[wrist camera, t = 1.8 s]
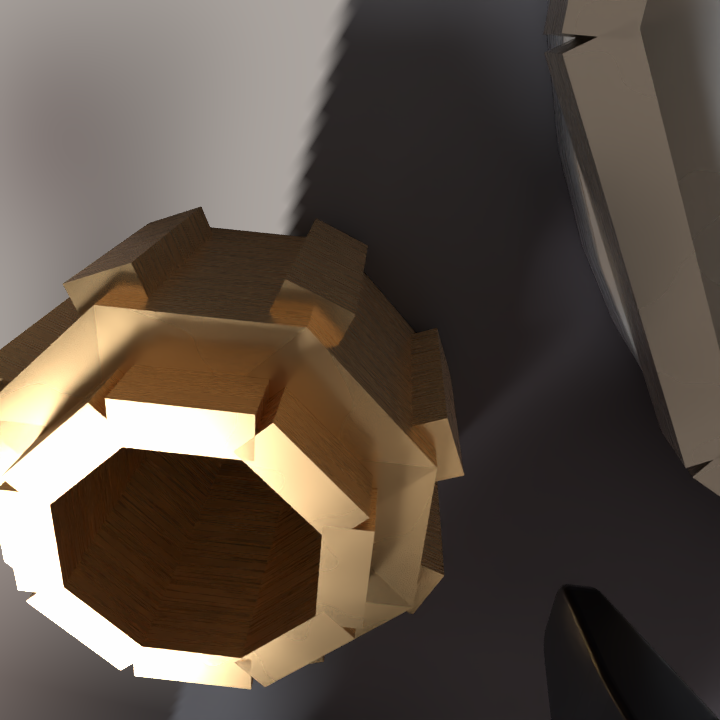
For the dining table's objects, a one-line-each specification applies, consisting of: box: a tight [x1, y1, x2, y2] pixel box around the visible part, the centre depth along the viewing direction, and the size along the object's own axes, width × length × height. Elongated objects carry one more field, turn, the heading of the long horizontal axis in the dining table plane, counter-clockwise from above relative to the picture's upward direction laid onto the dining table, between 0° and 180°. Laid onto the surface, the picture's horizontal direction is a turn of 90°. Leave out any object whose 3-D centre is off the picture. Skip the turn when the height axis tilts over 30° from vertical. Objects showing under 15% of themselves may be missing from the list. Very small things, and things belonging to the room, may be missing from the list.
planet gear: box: [0, 207, 464, 689], centre depth 10 cm, size 7×7×4 cm
